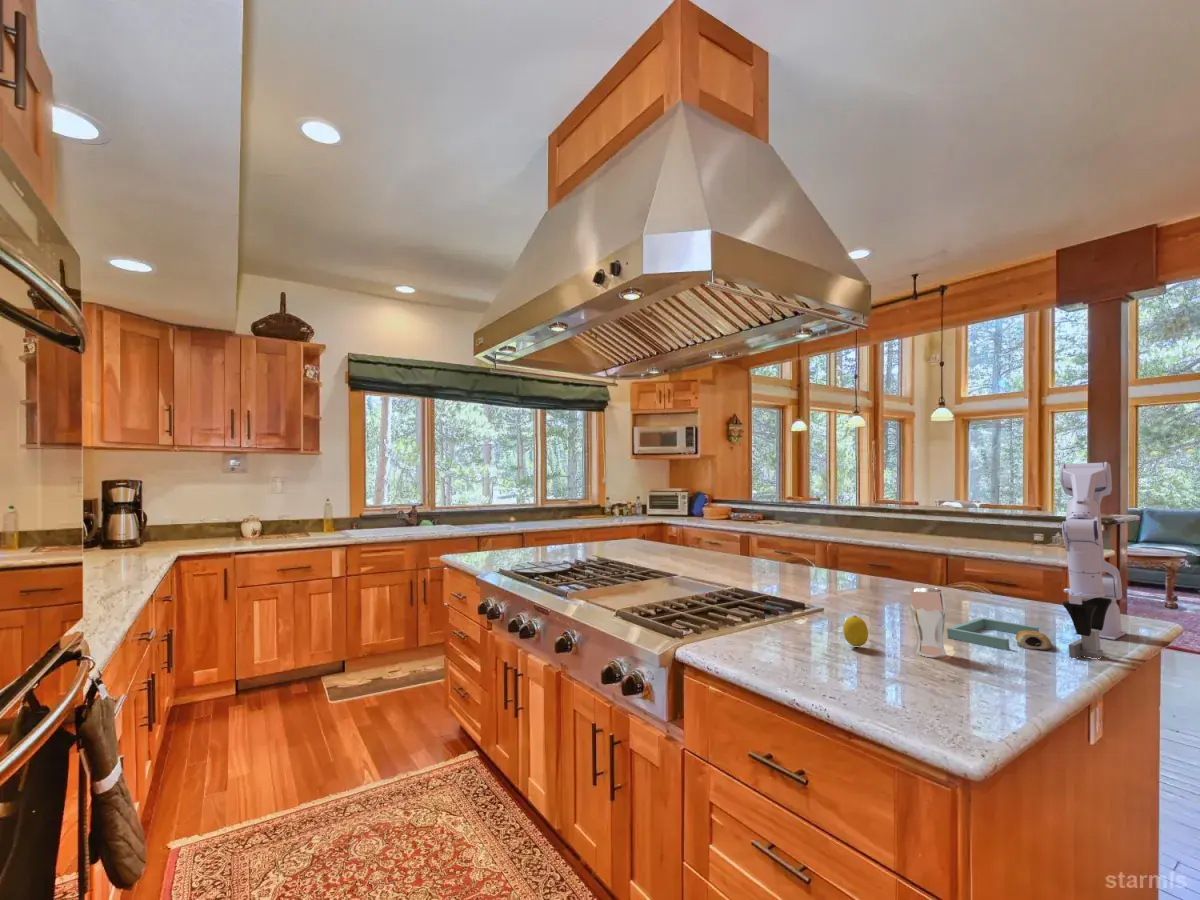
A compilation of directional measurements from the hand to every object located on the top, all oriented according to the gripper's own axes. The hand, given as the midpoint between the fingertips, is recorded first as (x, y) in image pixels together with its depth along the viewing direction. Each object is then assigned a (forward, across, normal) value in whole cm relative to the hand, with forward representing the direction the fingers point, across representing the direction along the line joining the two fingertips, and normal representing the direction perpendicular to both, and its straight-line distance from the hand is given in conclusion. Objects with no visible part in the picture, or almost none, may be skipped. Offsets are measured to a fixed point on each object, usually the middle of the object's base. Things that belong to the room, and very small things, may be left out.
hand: (1089, 632), depth 124 cm
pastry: (+6, 0, -11) cm, 13 cm away
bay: (+5, 0, -19) cm, 20 cm away
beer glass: (+6, +26, -22) cm, 34 cm away
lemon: (+6, +35, -35) cm, 50 cm away
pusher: (+5, 0, 0) cm, 5 cm away
